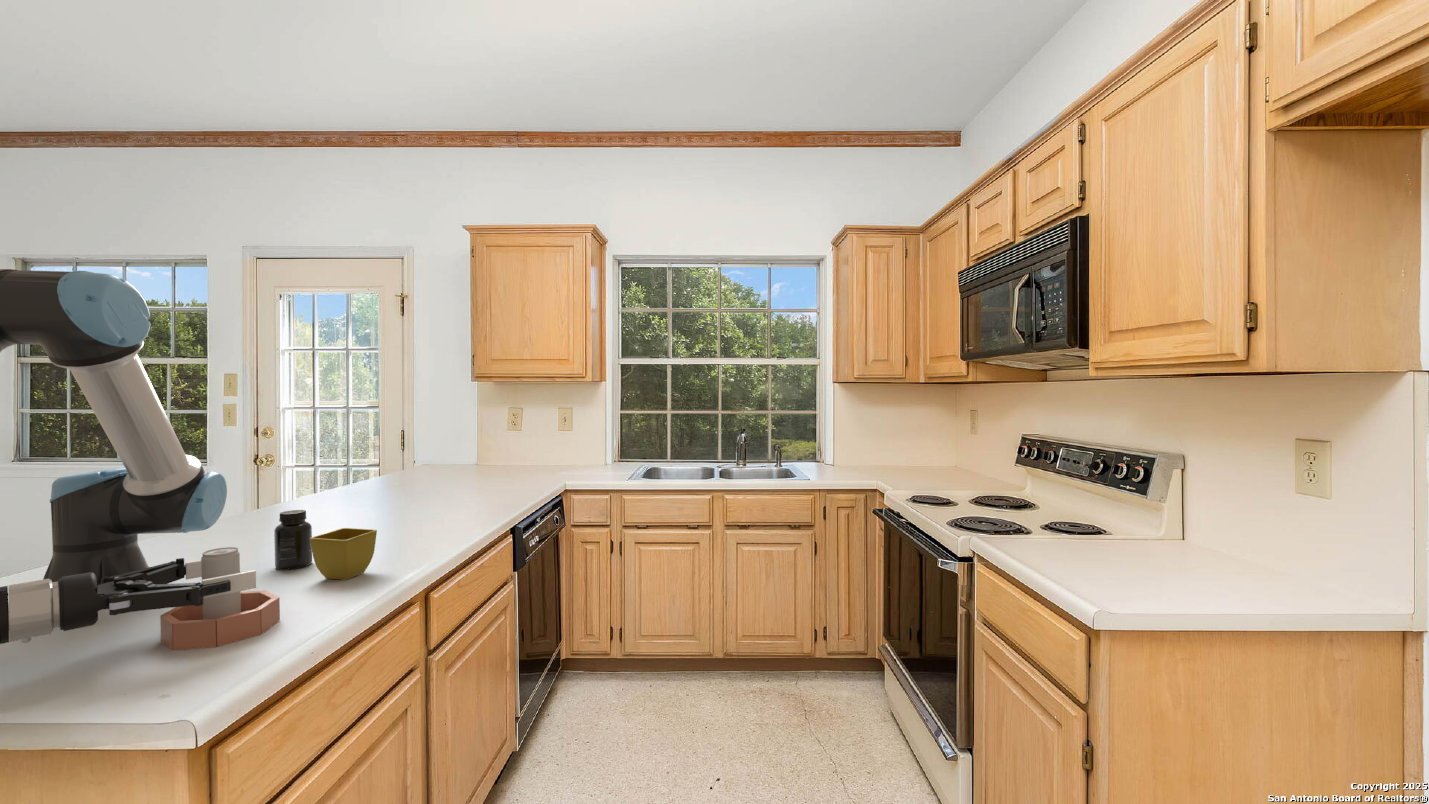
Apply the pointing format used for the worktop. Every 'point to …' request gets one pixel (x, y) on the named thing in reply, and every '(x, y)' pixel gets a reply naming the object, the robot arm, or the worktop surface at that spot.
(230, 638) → the terracotta bowl
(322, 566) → the flower pot
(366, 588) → the worktop surface
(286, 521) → the supplement bottle
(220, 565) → the beverage can
